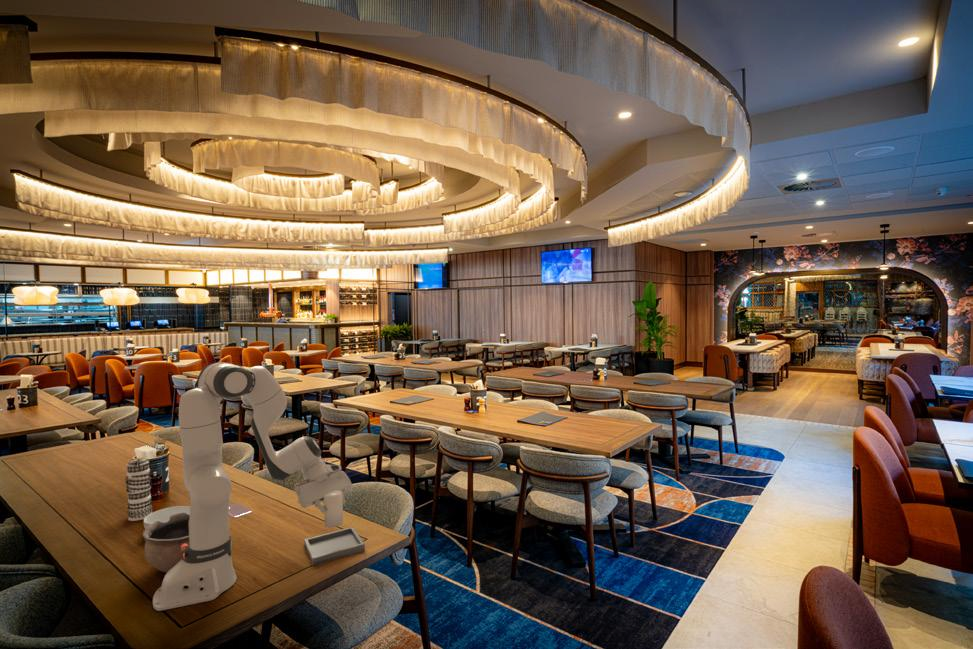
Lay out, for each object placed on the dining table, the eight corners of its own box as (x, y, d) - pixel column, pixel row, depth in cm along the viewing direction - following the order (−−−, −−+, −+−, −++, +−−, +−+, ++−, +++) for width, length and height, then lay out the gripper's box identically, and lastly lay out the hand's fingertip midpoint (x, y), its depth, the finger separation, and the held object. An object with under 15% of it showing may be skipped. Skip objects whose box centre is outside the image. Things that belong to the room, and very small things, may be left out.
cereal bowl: (169, 543, 177) (168, 525, 177) (133, 539, 181) (132, 522, 181) (204, 523, 194) (203, 506, 194) (170, 520, 197) (170, 503, 197)
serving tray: (312, 565, 160) (312, 558, 160) (304, 545, 173) (304, 539, 173) (364, 550, 169) (364, 543, 169) (352, 533, 183) (352, 526, 183)
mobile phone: (235, 516, 198) (219, 508, 207) (235, 519, 198) (220, 510, 207) (253, 510, 204) (237, 502, 213) (253, 512, 204) (237, 504, 213)
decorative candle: (158, 512, 206) (156, 456, 205) (141, 521, 197) (138, 463, 196) (139, 511, 207) (137, 456, 206) (121, 520, 198) (118, 462, 197)
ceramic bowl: (207, 543, 177) (205, 504, 176) (231, 562, 163) (229, 520, 163) (136, 569, 160) (134, 526, 159) (156, 592, 146) (154, 545, 145)
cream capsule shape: (327, 528, 167) (325, 498, 166) (323, 521, 172) (321, 492, 172) (345, 524, 170) (343, 494, 169) (340, 517, 175) (339, 488, 175)
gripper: (295, 480, 166) (312, 513, 161) (343, 463, 182) (360, 493, 177) (289, 489, 169) (305, 523, 164) (337, 472, 185) (353, 502, 180)
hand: (334, 507), depth 170 cm, fingers closed on cream capsule shape, 6 cm apart
